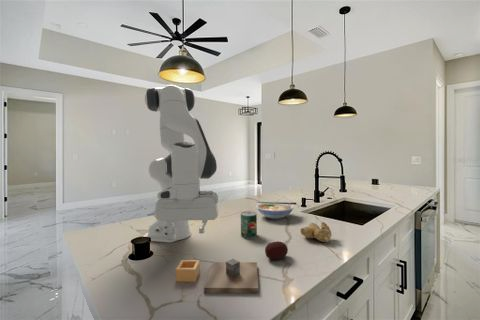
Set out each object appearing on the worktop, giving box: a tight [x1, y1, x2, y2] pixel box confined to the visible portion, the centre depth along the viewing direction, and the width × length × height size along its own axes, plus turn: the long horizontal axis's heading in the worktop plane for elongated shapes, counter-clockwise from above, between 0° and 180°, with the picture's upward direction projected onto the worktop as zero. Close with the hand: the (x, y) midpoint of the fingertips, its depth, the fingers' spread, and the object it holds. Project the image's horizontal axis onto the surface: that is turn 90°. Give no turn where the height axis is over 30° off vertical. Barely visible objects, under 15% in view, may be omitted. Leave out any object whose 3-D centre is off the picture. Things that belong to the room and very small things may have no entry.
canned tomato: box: [240, 210, 258, 240], centre depth 116 cm, size 8×8×11 cm
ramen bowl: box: [256, 201, 297, 220], centre depth 147 cm, size 25×23×8 cm
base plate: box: [203, 258, 259, 294], centre depth 78 cm, size 16×16×6 cm
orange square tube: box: [175, 259, 201, 283], centre depth 79 cm, size 6×6×4 cm
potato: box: [264, 240, 289, 261], centre depth 92 cm, size 7×10×6 cm
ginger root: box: [299, 221, 333, 243], centre depth 111 cm, size 16×16×8 cm
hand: (187, 233), depth 79 cm, fingers open, 8 cm apart
